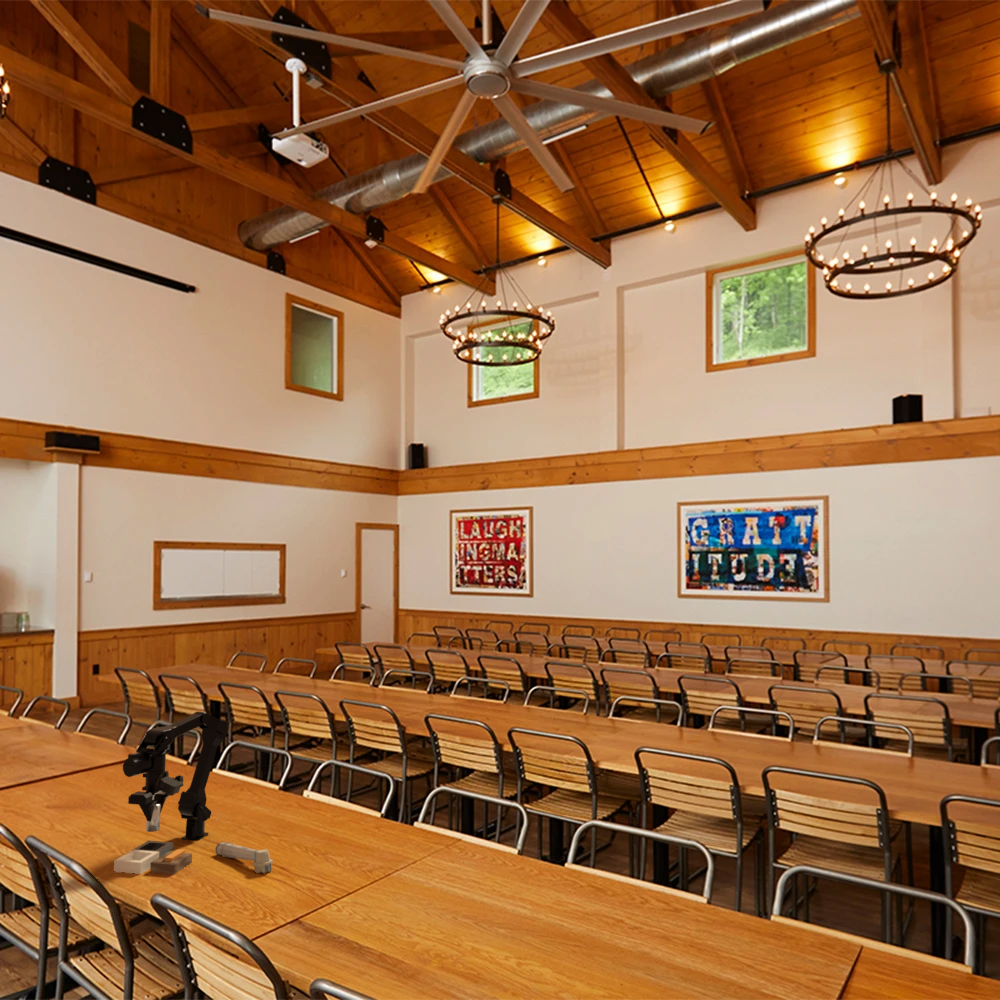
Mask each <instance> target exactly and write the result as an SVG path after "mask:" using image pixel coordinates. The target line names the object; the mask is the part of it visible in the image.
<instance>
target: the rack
mask: <svg viewBox="0 0 1000 1000" xmlns="http://www.w3.org/2000/svg"><path fill="white" fill-rule="evenodd" d="M131 850H132V851H131ZM131 850H130V851H128V852H127V853H125V854H123V855H121V856H120V857H117V858H116V859H114V864H113V872H114V871H116V872H115V873H121V872H125V874H132V873H135V874H134V875H142V874H143V873H145V872H147V871H148V870H150V866H151V862H153V861H154V860H156V859H158V858H159V852H156V851H155V850H153V851H144V850H133V849H131Z"/></svg>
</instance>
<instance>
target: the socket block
mask: <svg viewBox="0 0 1000 1000" xmlns="http://www.w3.org/2000/svg"><path fill="white" fill-rule="evenodd" d="M132 850H144V851H156V852H159V857H161V856H163V855H164V854H166V853H167V852H170V851H171V852H173V851H174V842H172V841H171V842H169V841H158V840H157V841H156V840H147V841H145V842H144V843H142V844H140V845H138V846H136V847H134V848H133V849H131V850H130V851H132ZM172 850H173V851H172Z"/></svg>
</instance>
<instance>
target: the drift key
mask: <svg viewBox="0 0 1000 1000" xmlns="http://www.w3.org/2000/svg"><path fill="white" fill-rule="evenodd" d="M172 852H173V853H171V854H170V855H168V856H166V857H165V862H167V863H170V862H172V861H173V860H175V859H176V858H178V857H180V856H181V855H183V854H184V853H186V849H182V848H181V849H180V848H178V849H176V850H173V851H172Z"/></svg>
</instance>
